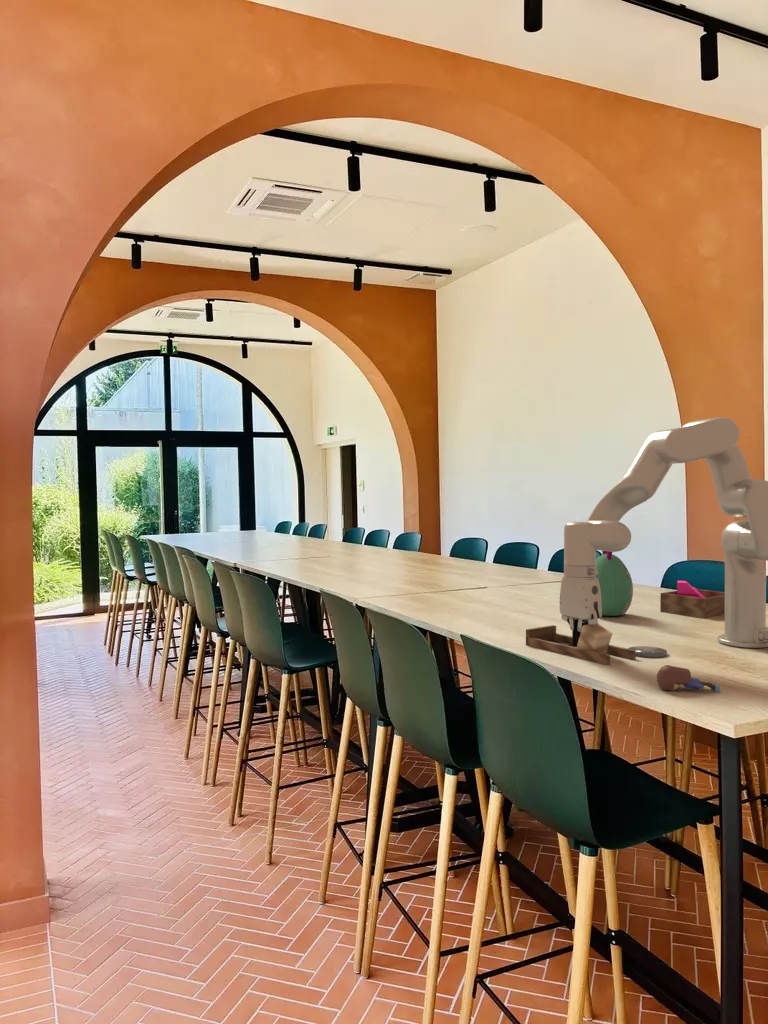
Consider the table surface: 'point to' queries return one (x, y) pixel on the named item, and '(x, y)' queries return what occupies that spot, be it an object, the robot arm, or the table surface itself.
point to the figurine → (680, 679)
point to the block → (594, 638)
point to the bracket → (687, 590)
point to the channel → (563, 643)
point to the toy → (614, 584)
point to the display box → (694, 604)
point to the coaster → (649, 651)
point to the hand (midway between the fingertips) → (579, 646)
